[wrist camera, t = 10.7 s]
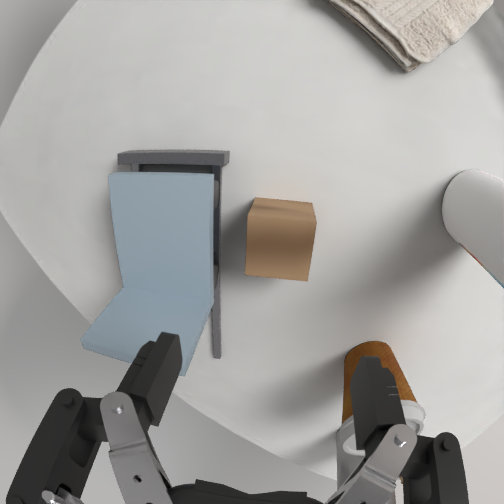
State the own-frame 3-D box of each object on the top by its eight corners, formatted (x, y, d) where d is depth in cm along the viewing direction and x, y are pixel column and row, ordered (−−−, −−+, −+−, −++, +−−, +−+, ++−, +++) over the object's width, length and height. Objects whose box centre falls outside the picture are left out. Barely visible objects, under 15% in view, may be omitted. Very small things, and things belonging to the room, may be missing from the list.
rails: (225, 356, 34) (222, 368, 32) (153, 342, 35) (147, 353, 33) (229, 151, 23) (224, 153, 22) (128, 150, 24) (117, 153, 22)
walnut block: (305, 253, 27) (307, 281, 22) (252, 248, 27) (244, 274, 23) (311, 202, 25) (316, 222, 20) (255, 197, 25) (247, 215, 21)
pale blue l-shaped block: (219, 288, 29) (184, 376, 18) (140, 277, 29) (83, 348, 19) (221, 168, 23) (166, 211, 13) (129, 167, 24) (42, 205, 14)
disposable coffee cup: (359, 389, 35) (368, 462, 24) (316, 361, 33) (318, 445, 22) (414, 353, 31) (440, 427, 20) (378, 317, 29) (404, 404, 18)
